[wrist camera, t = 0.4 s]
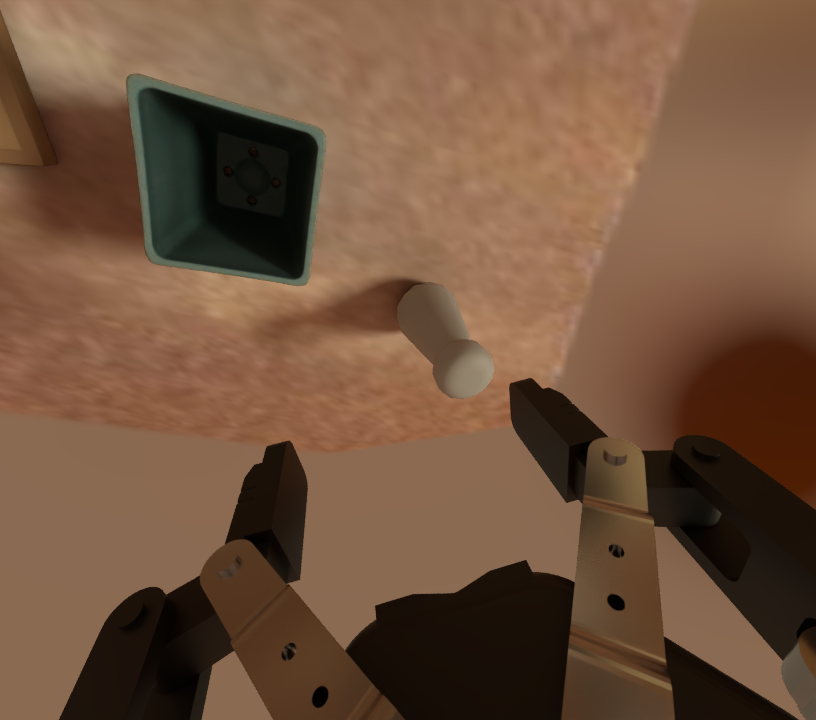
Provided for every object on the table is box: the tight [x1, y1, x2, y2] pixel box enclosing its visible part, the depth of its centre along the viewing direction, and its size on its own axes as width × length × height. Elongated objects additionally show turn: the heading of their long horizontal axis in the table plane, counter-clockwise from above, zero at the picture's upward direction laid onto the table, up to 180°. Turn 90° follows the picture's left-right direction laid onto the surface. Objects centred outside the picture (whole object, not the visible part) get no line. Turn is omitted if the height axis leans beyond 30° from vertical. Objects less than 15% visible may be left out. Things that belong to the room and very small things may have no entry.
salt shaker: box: [397, 282, 495, 399], centre depth 30 cm, size 6×6×13 cm
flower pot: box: [126, 74, 326, 286], centre depth 23 cm, size 9×9×9 cm
